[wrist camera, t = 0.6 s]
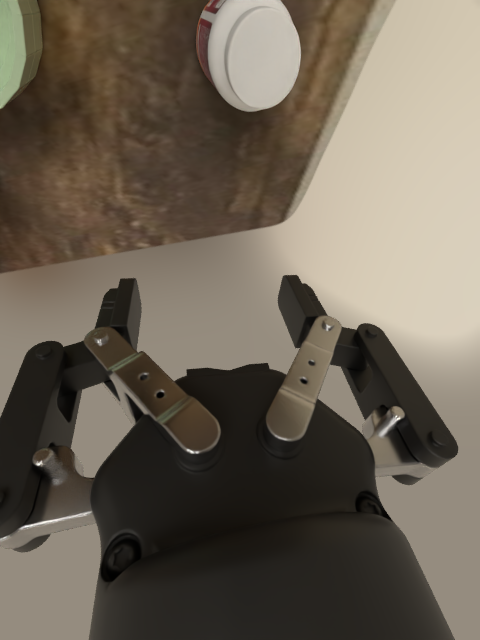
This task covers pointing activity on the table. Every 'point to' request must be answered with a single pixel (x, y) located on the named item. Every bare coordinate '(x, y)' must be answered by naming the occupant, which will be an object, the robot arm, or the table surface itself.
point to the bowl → (18, 46)
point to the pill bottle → (249, 51)
